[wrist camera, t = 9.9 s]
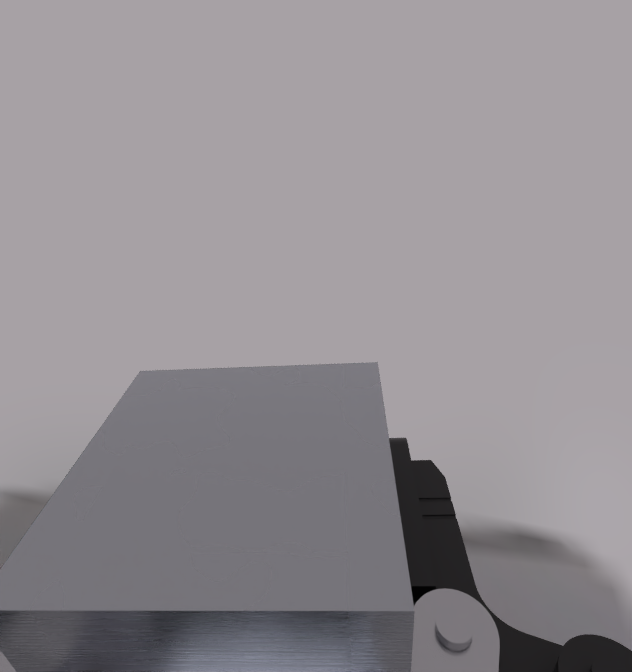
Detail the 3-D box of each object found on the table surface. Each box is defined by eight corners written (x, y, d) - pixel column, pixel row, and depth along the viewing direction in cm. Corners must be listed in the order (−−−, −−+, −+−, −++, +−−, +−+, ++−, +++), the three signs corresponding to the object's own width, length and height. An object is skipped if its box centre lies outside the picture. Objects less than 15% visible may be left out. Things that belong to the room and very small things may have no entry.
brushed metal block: (157, 863, 9) (-30, 610, 5) (214, 617, 14) (140, 370, 10) (398, 873, 9) (414, 611, 5) (379, 618, 13) (377, 362, 9)
